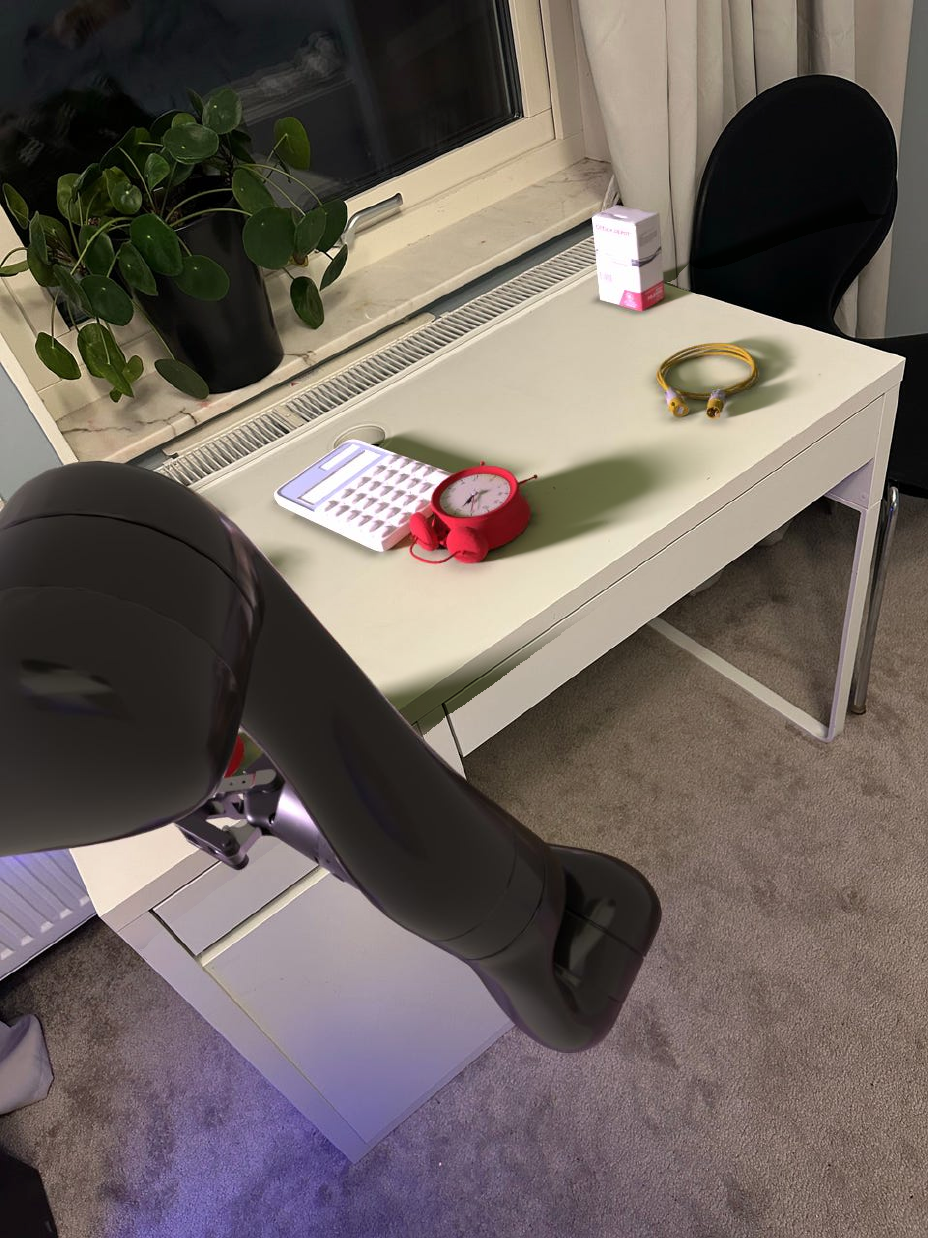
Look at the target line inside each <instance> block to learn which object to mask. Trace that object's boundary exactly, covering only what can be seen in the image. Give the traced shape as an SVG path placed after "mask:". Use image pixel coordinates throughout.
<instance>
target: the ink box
mask: <svg viewBox="0 0 928 1238" xmlns="http://www.w3.org/2000/svg"><path fill="white" fill-rule="evenodd" d="M591 220H592V230H593V241H594V249H595V250H594V251H595V260H596V269H597V278H598V279H597V281H598V289H599V299H600V301H604V302H608V303H611V304H615V305H619V306H622V307H626V308H629V309H633V310H636V311H639V312H643V311H645V310H646V309H648V308H650V307H652V306H653V305H655V304H657V303H658V302H660V301H662V300H663V299H665V281H664V266H663V250H662V234H661V217H660V212H659V211H651V210H647V209H646V210H645V209H640V208H634V207H629V206H625V205H619V204H618V205H614V206H612V207H609V208H606V209H604V210H602V211H599V212H597V213H595V214H594V215H593V216H592V217H591Z"/></svg>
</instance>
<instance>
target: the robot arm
mask: <svg viewBox="0 0 928 1238" xmlns="http://www.w3.org/2000/svg"><path fill="white" fill-rule="evenodd" d="M240 730H241V731H242V732H243V733H244V734H245V736H247V737H248V738H249V739H250V740H251V741H252V742H253V744H255V745H256V747H258V748H259V749H260V751H261V752H262V754H261V755H260V757H258V758H257V759H255V760H254V761H252V762H251V763H249V765H248V766H247V767H246V768H244V770H242V772H243V775H241V774H240V775H233V776H231V777H227V778H224V776H225V774H226V771H227V769H228V767H229V764H230V761H231V759H232V756H233V753H234V748H235V744H236V740H237V736H238V735H239V731H240ZM240 795H242V797H240ZM223 818H229V819H231V820H235V821H240V820H246V824H244V825H242V826H239V827H236V826H232V825H231V826H229V825H227V824H225V825H223V826H222V828H219V827H218V826H216V825H215V824H213V823H211V822H209V820H215V819H223ZM171 824H173V825H174V826H175V827H176V828H177V830H179V831H180V833H181V835H183V838H184V839H185V840H186V842H187V843H189V844H191V845H192V846H194V847H195V848H198V849H199V850H201V851H202V852H204V853H206V854H207V855H209V856H211V857H212V858H214V859H216V860H217V861H219V862H221V863H223V864H224V865H226V866H228V867H229V868H231V869H233V870H235V871H241V870H244V869H245V868H247V866H248V865H249V862H250V857H249V856H248V854H247V853H248V852H249V851H250V849H251V848H252V847H253V846H254V845H255V844H256V842H257V841H258V840H259V839H260V838H261V837H274V838H277V839H279V840H280V841H281V842H282V843H284V844H286V845H287V846H288V847H291V848H292V849H294V850H295V851H297V852H298V853H300V854H301V855H302V856H305V857H306V858H308V859H309V860H310V861H313V862H314V863H316V864H317V865H319V866H320V867H322V868H323V869H325V870H326V871H328V872H329V873H330V875H331V876H333V877H334V878H336V879H337V880H339V881H340V882H342V883H346V884H348V885H350V886H351V887H353V888H354V889H356V890H358V891H359V892H360V893H361V894H362V895H363V896H364V897H365V899H367V900H368V902H370V904H371V905H372V906H373V907H374V908H376V909H377V910H378V911H379V912H380V913H381V914H382V915H384V916H385V917H387V919H389V920H390V921H392V922H394V923H395V924H396V925H398V926H400V928H402V929H404V930H406V931H408V932H409V933H411V934H412V935H415V936H416V937H419V938H420V939H422V940H424V941H425V942H427V943H429V944H430V945H433V946H435V947H436V948H439V949H440V950H442V951H444V952H445V953H447V954H450V955H451V956H453V957H455V958H457V960H459V961H461V962H462V963H464V964H465V965H467V966H468V967H469V968H470V969H471V970H472V971H473V972H474V974H476V975H477V977H478V978H479V980H480V981H481V983H482V984H483V985H484V987H485V988H486V990H487V991H488V993H489V995H490V996H491V997H492V998H493V1000H494V1001H495V1003H496V1004H497V1005H498V1007H499V1008H500V1010H501V1011H502V1012H503V1014H505V1015H506V1017H507V1018H508V1019H509V1020H510V1021H511V1022H512V1024H514V1025H515V1026H516V1027H517V1028H518V1029H519V1030H520V1031H521V1032H522V1033H523V1034H525V1035H526V1036H527V1037H528V1038H530V1039H531V1040H532V1041H534V1042H536V1043H537V1044H539V1045H540V1046H541V1047H542V1046H543V1047H544V1048H547V1049H549V1050H551V1051H554V1052H557V1053H561V1054H579V1053H583V1052H586V1051H589V1050H591V1049H593V1048H595V1047H597V1046H598V1045H599V1044H601V1043H602V1042H603V1041H605V1039H606V1038H607V1037H608V1035H609V1034H610V1032H611V1031H612V1029H613V1028H614V1026H615V1024H616V1022H617V1020H618V1017H619V1015H620V1014H621V1012H622V1009H623V1008H624V1007H623V1006H624V1005H623V1004H625V1002H626V1000H627V998H628V996H629V994H630V992H631V989H632V987H633V984H634V983H635V980H636V978H637V976H638V974H639V972H640V970H641V968H642V966H643V963H644V960H645V959H644V958H646V957H647V955H648V953H649V951H650V949H651V947H652V945H653V943H654V940H655V938H656V936H657V934H658V931H659V929H660V926H661V923H662V917H663V909H662V905H661V900H660V898H659V896H658V893H657V892H656V890H655V888H654V886H653V885H652V884H651V882H650V881H649V880H648V878H647V877H646V876H645V875H644V874H643V873H642V872H641V871H640V870H638V869H637V868H636V867H634V866H633V865H632V864H630V863H629V862H627V861H625V860H623V859H621V858H618V857H616V856H613V855H611V854H608V853H605V852H600V851H596V850H593V849H588V848H582V847H577V846H571V845H565V844H557V843H551V842H546V841H544V839H542V837H540V836H539V835H538V834H536V833H535V832H534V831H533V830H531V828H529V827H527V826H526V825H525V824H523V823H522V822H521V821H520V820H518V819H517V818H516V817H515V816H513V814H511V813H510V812H508V811H507V810H506V809H504V807H502V806H500V804H498V803H497V802H496V801H494V799H491V797H489V796H488V795H486V794H485V793H484V792H483V791H482V790H480V789H478V788H477V787H476V786H474V785H473V784H472V783H471V782H470V781H469V780H467V778H465V777H464V776H463V775H462V774H461V773H460V772H458V771H457V770H456V769H455V768H454V767H453V766H452V765H451V764H450V763H449V762H448V761H447V760H445V759H444V757H442V756H441V755H440V754H439V753H438V752H437V751H436V750H435V749H434V748H433V747H432V746H431V745H430V744H429V743H428V742H427V741H426V740H425V739H424V738H423V737H422V736H421V735H420V734H419V733H418V731H417V730H416V729H415V727H414V726H412V725H411V724H410V722H408V720H407V719H406V718H405V717H404V715H402V714H401V713H400V711H398V709H397V708H396V707H395V706H394V705H393V703H392V702H390V700H389V699H388V698H387V697H386V695H385V694H384V693H383V692H382V691H381V689H379V687H377V686H376V684H375V683H374V682H373V680H371V678H370V677H369V676H368V675H367V674H366V673H365V671H364V670H363V669H362V668H361V666H359V665H358V663H357V662H356V661H355V660H354V659H353V658H352V656H351V655H350V654H349V653H348V652H347V651H346V649H345V648H344V647H343V646H342V645H341V644H340V643H339V641H338V640H337V639H336V638H335V637H334V636H333V634H332V633H331V632H329V630H328V629H327V628H326V626H324V624H323V623H322V622H321V621H320V620H319V619H318V617H317V616H316V615H315V613H313V611H312V610H311V609H310V607H308V605H307V604H306V603H305V601H304V600H303V599H302V598H301V597H300V595H298V593H297V592H296V591H295V589H294V588H293V587H292V586H291V585H290V583H288V581H287V580H286V579H285V578H284V576H283V575H282V574H281V572H280V571H279V570H278V569H277V568H276V566H274V564H273V563H272V562H271V561H270V560H269V559H268V557H267V556H266V555H265V554H264V552H262V550H261V549H260V548H259V547H258V546H257V545H256V544H255V543H254V542H253V541H252V539H251V538H250V537H249V536H248V535H247V534H246V533H245V532H244V531H243V530H242V529H241V527H239V526H238V525H237V524H236V523H235V522H234V521H233V520H232V519H231V518H230V517H229V516H227V515H226V514H225V513H224V512H223V511H222V510H221V509H220V508H219V507H218V506H216V505H215V504H214V503H213V502H211V501H209V500H208V499H207V498H206V497H204V496H203V495H201V494H200V493H199V492H197V491H196V490H194V489H193V488H191V487H189V486H187V485H185V484H184V483H181V482H179V481H178V480H176V479H174V478H171V477H170V476H168V475H165V474H163V473H161V472H158V471H156V470H152V469H148V468H145V467H142V466H138V465H135V464H131V463H124V462H115V461H109V460H108V461H107V460H90V461H89V460H88V461H87V460H86V461H73V462H70V463H66V464H63V465H60V466H55V467H52V468H49V469H47V470H45V471H43V472H41V473H39V474H38V475H36V476H34V477H32V478H31V479H29V480H27V481H26V482H24V483H23V484H22V485H21V486H20V487H19V488H18V489H17V490H15V492H14V493H13V494H11V496H10V498H8V500H7V502H5V504H4V505H3V507H2V508H1V510H0V858H8V857H17V856H24V855H25V856H26V855H32V854H41V853H48V852H55V851H56V852H57V851H63V850H71V849H77V848H85V847H90V846H91V847H92V846H97V845H103V844H108V843H112V842H117V841H121V840H125V839H126V840H127V839H130V838H134V837H136V836H140V835H144V834H147V833H150V832H153V831H156V830H159V829H163V828H164V827H166V826H170V825H171Z"/></svg>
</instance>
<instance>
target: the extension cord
mask: <svg viewBox="0 0 928 1238" xmlns="http://www.w3.org/2000/svg"><path fill="white" fill-rule="evenodd" d="M709 350H721V351H709ZM702 351H706V352H702ZM707 351H708V352H707ZM728 351H729V352H728ZM698 352H700V353H698ZM694 353H696V354H694ZM713 355H715V356H717V355H719V356H720V355H724V356H728V357H729V356H730V357H733V358H737V359H740V360H742V361H744V362H745V363H747V364H749V365H750V366H751V367H750V368H751V375H749V376H748V378H746V379H744V380H742V381H740V382H737V383H735V384H732V385H730V386H726V387H723V388H718V389H713V391H711V392H693V391H686V390H681V389H678V388H674V387H672V386H670V385H668V384H667V382H666V380H665V374H666V372H667V371H668V369H669V368H672V367H673V366H675V365H676V364H679V363H681V362H684V361H687V360H690V359H694V358H698V357H704V356H713ZM758 380H759V368H758V367H757V365H756V362H755V360H754V358H753V356H752V355H751V353H750V352H748V351H747V350H746V349H744V348H742V347H741V346H739V345H735V344H733V343H727V342H726V343H725V342H711V343H710V342H709V343H702V344H698V345H697V344H696V345H693V346H689V347H687V348H684V349H682V350H679V351H677V352H676V353H674V354H672V355H671V356H669V357H668V358H666V359H665V360H664V361H663V362H662V363H661V364H660V366H659V367H658V370H657V372H656V381H657V382H658V383H659V384H660V386H661V387H662V388H663V390H665V392H664V395H665V396H664V398H665V399H666V404H667V406H668V409H667V411H669V412H671V413H672V415H673V416H674V417H675V418H683V417H685V416H687V415H688V414H689V411H690V408H689V407H688V405H687V403H686V400H684V398H687V399H689V400H690V399H691V400H696V401H697V400H698V401H708V402H707V404H706V406H707V407H706V409H705V414H706V416H707V418H709V419H719V418H721V417H720V416H721V413H723V410H724V407H725V405H726V396H729V395H731V394H734V393H740V392H743V391H745V390H748V389H749V388H751V387H752V386H754V384H756V383H757V381H758Z"/></svg>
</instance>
